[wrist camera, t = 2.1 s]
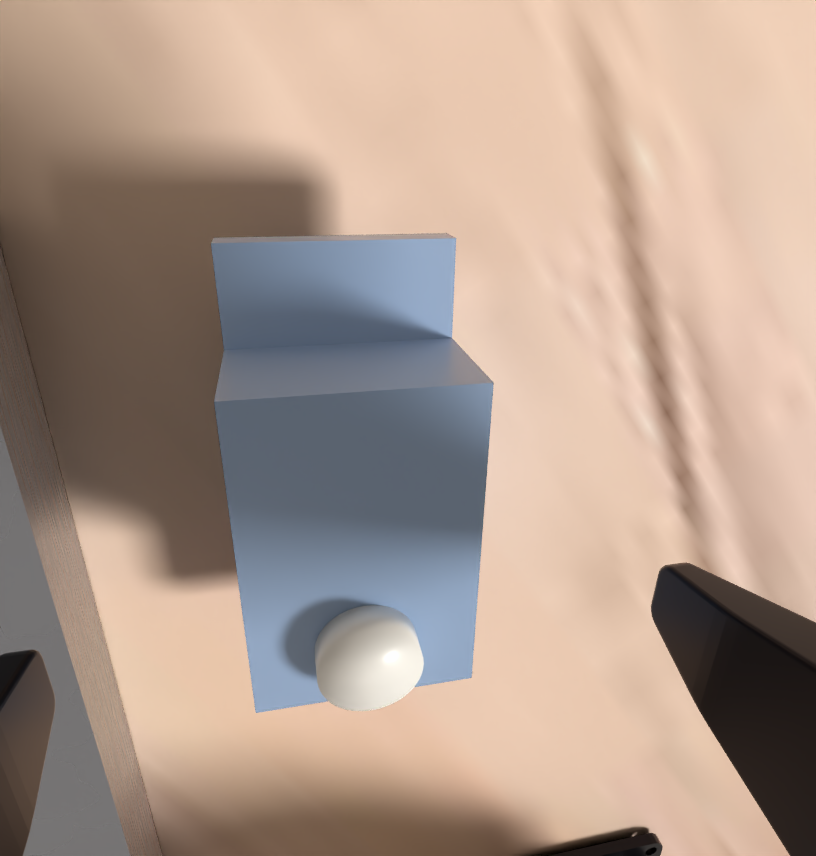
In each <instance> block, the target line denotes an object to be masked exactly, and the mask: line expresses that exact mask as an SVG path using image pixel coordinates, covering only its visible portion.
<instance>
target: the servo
mask: <svg viewBox="0 0 816 856" xmlns="http://www.w3.org/2000/svg"><path fill="white" fill-rule="evenodd" d="M211 248H212V256H213V265H214V273H215V281H216V289H217V297H218V305H219V314H220V322H221V330H222V338H223V346H224V352H223V357H222V363H221V368H220V373H219V378H218V384H217V389H216V394H215V399H214V405H215V413H216V420H217V428H218V435H219V442H220V450H221V457H222V465H223V472H224V480H225V487H226V494H227V502H228V509H229V517H230V524H231V532H232V539H233V547H234V554H235V561H236V569H237V576H238V584H239V591H240V599H241V606H242V613H243V621H244V628H245V636H246V643H247V651H248V658H249V666H250V673H251V680H252V688H253V695H254V703H255V710H256V713H258V712H265V711H271V710H277V709H283V708H289V707H295V706H301V705H307V704H314V703H320V702H326V701H329V702H330V703H332V704H333V705H335V706H337V707H340V708H343V709H346V710H352V711H369V710H375V709H379V708H383V707H386V706H388V705H390V704H393V703H395V702H396V701H398V700H400V699H401V698H403V697H404V696H405V695H407V694H408V693H409V692H410V691H411V690H412V689H413V688H414V687H418V686H424V685H430V684H436V683H442V682H449V681H455V680H461V679H467V678H471V677H472V663H473V650H474V637H475V623H476V610H477V597H478V583H479V570H480V556H481V543H482V530H483V516H484V503H485V490H486V476H487V463H488V449H489V436H490V423H491V409H492V396H493V382H492V381H491V380H490V378H489V377H488V376H487V375H486V374H485V373H484V372H483V371H482V370H481V369H480V368H479V367H478V366H477V365H476V363H475V362H474V361H473V360H472V359H471V358H470V357H469V356H468V355H467V354H466V353H465V352H464V351H463V349H462V348H461V347H460V346H459V345H458V344H457V343H456V342H455V341H454V340H453V339H452V322H453V298H454V275H455V251H456V238H455V237H453V236H451V235H449V234H447V233H438V234H384V235H330V236H276V237H223V238H213V240H212V242H211Z"/></svg>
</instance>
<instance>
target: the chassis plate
mask: <svg viewBox="0 0 816 856" xmlns="http://www.w3.org/2000/svg"><path fill="white" fill-rule="evenodd" d="M24 650H37V651H39V653H40V654H41V655H42V658H43V660H44V663H45V667H46V670H47V673H48V676H49V679H50V682H51V685H52V688H53V691H54V695H55V712H54V717H53V722H52V727H51V732H50V737H49V742H48V747H47V752H46V757H45V762H44V767H43V772H42V776H41V781H40V786H39V791H38V796H37V801H36V806H35V811H34V815H33V820H32V824H31V829H30V833H29V837H28V840H27V843H26V847H25V850H24V854H23V856H162V852H161V848H160V845H159V841H158V837H157V833H156V830H155V826H154V822H153V818H152V814H151V811H150V807H149V803H148V799H147V796H146V792H145V788H144V784H143V781H142V777H141V773H140V769H139V766H138V762H137V758H136V754H135V750H134V747H133V743H132V739H131V735H130V732H129V728H128V724H127V720H126V717H125V713H124V709H123V705H122V702H121V698H120V694H119V690H118V686H117V683H116V679H115V675H114V671H113V668H112V664H111V660H110V656H109V653H108V649H107V645H106V641H105V638H104V634H103V630H102V626H101V622H100V619H99V615H98V611H97V607H96V604H95V600H94V596H93V592H92V589H91V585H90V581H89V577H88V574H87V570H86V566H85V562H84V558H83V555H82V551H81V547H80V543H79V540H78V536H77V532H76V528H75V525H74V521H73V517H72V513H71V509H70V506H69V502H68V498H67V494H66V491H65V487H64V483H63V479H62V476H61V472H60V468H59V464H58V461H57V457H56V453H55V449H54V445H53V442H52V438H51V434H50V430H49V427H48V423H47V419H46V415H45V412H44V408H43V404H42V400H41V397H40V393H39V389H38V385H37V381H36V378H35V374H34V370H33V366H32V363H31V359H30V355H29V351H28V348H27V344H26V340H25V336H24V333H23V329H22V325H21V321H20V317H19V314H18V310H17V306H16V302H15V299H14V295H13V291H12V287H11V284H10V280H9V276H8V272H7V269H6V265H5V261H4V257H3V253H2V250H1V246H0V655H2V654H5V653H9V652H16V651H24Z"/></svg>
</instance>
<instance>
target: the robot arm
mask: <svg viewBox="0 0 816 856" xmlns="http://www.w3.org/2000/svg"><path fill="white" fill-rule="evenodd" d="M651 612H652V617H653V620H654V623H655V625H656V627H657V629H658V631H659V633H660V635H661V637H662V639H663V641H664V643H665V645H666V647H667V649H668V651H669V653H670V655H671V657H672V659H673V661H674V663H675V665H676V667H677V668H678V670H679V672H680V674H681V676H682V678H683V680H684V682H685V684H686V686H687V688H688V690H689V692H690V694H691V696H692V698H693V700H694V702H695V704H696V705H697V707H698V709H699V711H700V712H701V714H702V716H703V718H704V719H705V721H706V723H707V724H708V726H709V727H710V729H711V731H712V732H713V734H714V735H715V737H716V739H717V740H718V742H719V743H720V745H721V747H722V748H723V750H724V751H725V753H726V754H727V756H728V758H729V759H730V761H731V762H732V764H733V766H734V767H735V769H736V770H737V772H738V774H739V775H740V777H741V778H742V780H743V781H744V783H745V785H746V786H747V788H748V789H749V791H750V793H751V794H752V796H753V797H754V799H755V801H756V802H757V804H758V805H759V807H760V809H761V810H762V812H763V813H764V815H765V816H766V818H767V820H768V821H769V823H770V824H771V826H772V828H773V829H774V831H775V832H776V834H777V836H778V837H779V839H780V840H781V842H782V844H783V845H784V847H785V848H786V850H787V851H788V853H789V855H790V856H816V623H815V622H813V621H811V620H809V619H807V618H805V617H803V616H801V615H798V614H796V613H794V612H792V611H790V610H788V609H786V608H784V607H781V606H779V605H777V604H775V603H773V602H771V601H769V600H767V599H764V598H762V597H760V596H758V595H756V594H754V593H752V592H750V591H747V590H745V589H743V588H741V587H739V586H737V585H735V584H733V583H730V582H728V581H726V580H724V579H722V578H720V577H718V576H716V575H713V574H711V573H709V572H707V571H705V570H703V569H701V568H699V567H696V566H694V565H692V564H690V563H678V564H670V565H665V566H663V567H662V568H661V569H660V571H659V574H658V578H657V582H656V587H655V591H654V595H653V600H652V604H651ZM54 712H55V695H54V691H53V688H52V685H51V682H50V679H49V676H48V673H47V670H46V667H45V663H44V660H43V658H42V655H41V654H40V653H39V651H37V650H24V651H16V652H9V653H5V654H2V655H0V856H23V854H24V850H25V847H26V843H27V840H28V837H29V833H30V829H31V824H32V820H33V815H34V811H35V806H36V801H37V796H38V791H39V786H40V781H41V776H42V772H43V767H44V762H45V757H46V752H47V747H48V742H49V737H50V732H51V727H52V722H53V717H54ZM661 851H662V845H661V843H660V841H659V839H658V837H657V836H656V835H655V834H653V833H648V834H643V835H639V836H634V837H630V838H626V839H621V840H617V841H612V842H608V843H603V844H599V845H595V846H590V847H586V848H581V849H577V850H572V851H568V852H564V853H559V854H555V855H550V856H660V855H661Z"/></svg>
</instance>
